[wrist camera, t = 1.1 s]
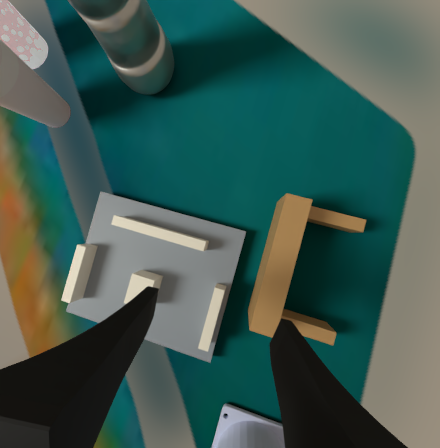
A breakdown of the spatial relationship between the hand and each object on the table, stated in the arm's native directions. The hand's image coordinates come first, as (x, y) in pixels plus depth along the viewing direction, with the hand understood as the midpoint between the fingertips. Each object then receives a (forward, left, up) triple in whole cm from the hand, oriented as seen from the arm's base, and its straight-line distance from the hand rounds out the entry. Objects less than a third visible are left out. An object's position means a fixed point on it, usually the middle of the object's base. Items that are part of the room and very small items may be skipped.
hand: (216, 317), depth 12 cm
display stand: (-2, +8, -11) cm, 14 cm away
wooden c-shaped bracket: (+3, -7, -11) cm, 13 cm away
